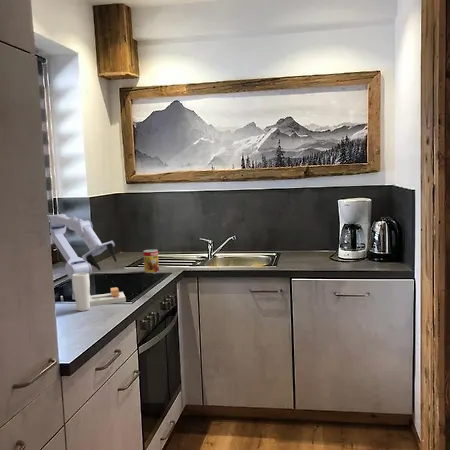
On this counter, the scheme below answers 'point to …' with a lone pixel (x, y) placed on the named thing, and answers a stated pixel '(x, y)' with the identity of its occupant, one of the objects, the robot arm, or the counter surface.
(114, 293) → the breaker toggle
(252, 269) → the counter surface
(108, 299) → the panel
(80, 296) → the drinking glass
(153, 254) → the canned food
